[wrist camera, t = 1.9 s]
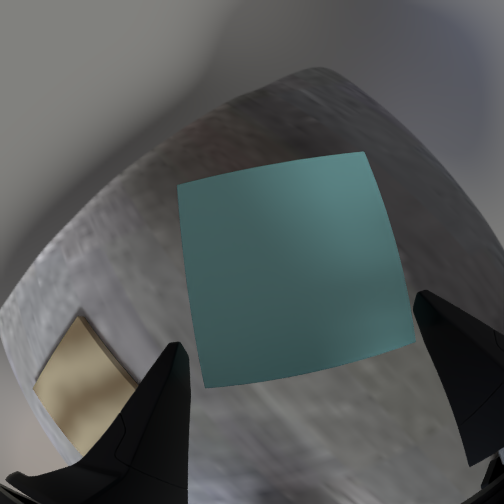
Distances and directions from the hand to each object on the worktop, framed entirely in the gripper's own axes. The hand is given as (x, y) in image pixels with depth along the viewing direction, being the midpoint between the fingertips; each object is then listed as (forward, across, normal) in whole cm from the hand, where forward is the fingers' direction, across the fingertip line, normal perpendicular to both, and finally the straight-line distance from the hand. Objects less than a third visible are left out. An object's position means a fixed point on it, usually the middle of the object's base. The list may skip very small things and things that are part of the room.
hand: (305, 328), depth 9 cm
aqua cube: (+5, 0, +2) cm, 6 cm away
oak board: (+4, +20, +13) cm, 24 cm away
